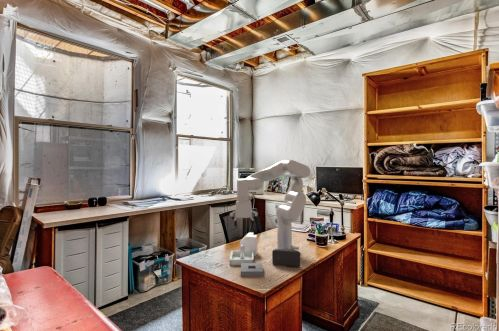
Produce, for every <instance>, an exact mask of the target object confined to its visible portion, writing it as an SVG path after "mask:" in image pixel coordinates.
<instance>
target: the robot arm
mask: <svg viewBox="0 0 499 331" xmlns="http://www.w3.org/2000/svg"><path fill="white" fill-rule="evenodd" d="M287 173H288V174H289V176H290V180H291V183H290V185H289V187H288V190H287V191H286V193H285V196H284V202H285V203H286V204H281V205H280V204H279V205H278V206H277V208H276V211H275V216H276V222H277V229H276V230H277V237H276V238H277V242H276V244H277V247H276V248H275V249H292V250H297V251H299V250H300V248H299V247H300V246H297V245H293V244H292V243H293V241H292V239H293V237H292V236H293V234H292V233H293V231H292V228H293V225H292V223H293V222H294V223H295V222H298V220H299V218H300V216H301V215H302V212H303V210H304V208H305V206H306V203H307V197H306V194H305V193H304V192H302V190H303V188H304V182H303V179H307V178H309V176H311V169H310V167H309V166H308V165H306V164H304V163H301V162H299V161H296V160H292V159H282V160H280V161H278V162H276V163H275V164H273V165H271V166H269V167H267V168H265V169H262V170H259V171H257V172H254V173H252V174H250V175H249V176H247V177H245V178H238V179H237V180H236V197H237V198H236V199H237V200H236V201H235V207H234V208H235V210H233V211H232V212H230V213H229V216H230V217H231V219H232V220H233V222H234V227H235V228H238V221H237V220H238V219H245V218H246V219H247V218H248V219H249V218H250V226H251V228H252V227H253V226H254V220H256V218H257V216H258V214H259V213H258V212H257V211H255V210H253V208H252V207H253V205H252V201H251V200H252V199H253V197H252V196H250V191H259V190H261V189H262V188H263V182H270V181H274V180H276V179H278V178H279V177H281V176H282V175H284V174H287ZM253 214H254V216H253ZM234 215H235V216H234Z"/></svg>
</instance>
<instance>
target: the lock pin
mask: <svg viewBox="0 0 499 331" xmlns="http://www.w3.org/2000/svg"><path fill="white" fill-rule="evenodd" d="M239 251H240V259H245V245H243V244H241V245H240V244H239Z"/></svg>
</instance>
